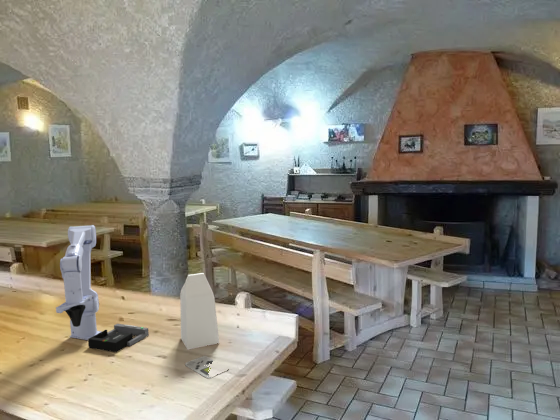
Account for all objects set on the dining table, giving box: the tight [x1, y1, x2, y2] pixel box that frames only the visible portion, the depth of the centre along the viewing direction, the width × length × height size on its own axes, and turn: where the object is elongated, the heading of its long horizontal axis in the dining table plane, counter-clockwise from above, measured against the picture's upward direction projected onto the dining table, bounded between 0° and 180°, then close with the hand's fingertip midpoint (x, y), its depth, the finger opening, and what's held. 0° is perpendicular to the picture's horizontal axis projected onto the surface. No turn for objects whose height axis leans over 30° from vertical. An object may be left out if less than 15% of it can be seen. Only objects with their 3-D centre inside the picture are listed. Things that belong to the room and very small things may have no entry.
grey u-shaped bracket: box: [107, 323, 150, 347], centre depth 182 cm, size 15×11×3 cm
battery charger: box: [87, 329, 134, 353], centre depth 176 cm, size 13×10×4 cm
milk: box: [179, 272, 220, 351], centre depth 176 cm, size 12×12×26 cm
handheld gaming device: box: [184, 355, 214, 379], centre depth 155 cm, size 9×1×15 cm
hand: (76, 325), depth 168 cm, fingers closed
